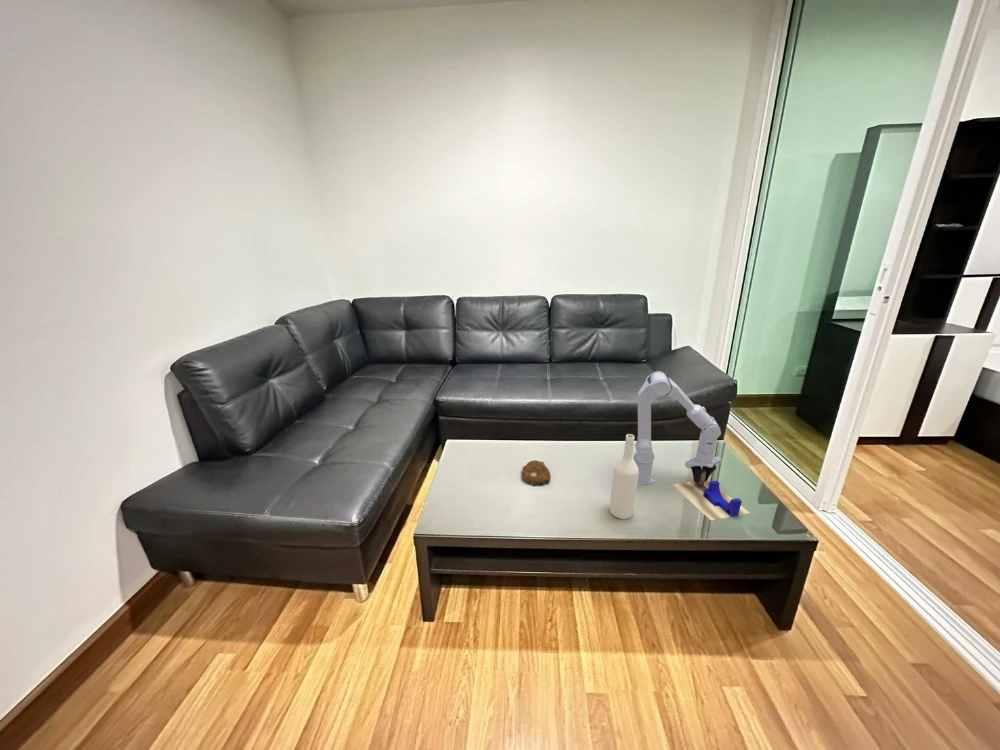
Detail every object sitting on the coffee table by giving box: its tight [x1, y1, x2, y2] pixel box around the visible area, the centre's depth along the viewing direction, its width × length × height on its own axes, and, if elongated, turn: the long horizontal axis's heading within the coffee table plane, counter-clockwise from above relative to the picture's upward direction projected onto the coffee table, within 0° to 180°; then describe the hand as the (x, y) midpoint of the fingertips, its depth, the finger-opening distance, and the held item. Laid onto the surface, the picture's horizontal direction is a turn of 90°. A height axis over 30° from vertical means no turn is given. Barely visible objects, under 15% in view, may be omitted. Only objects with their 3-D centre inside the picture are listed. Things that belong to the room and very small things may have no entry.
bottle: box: [609, 433, 639, 520], centre depth 133 cm, size 8×8×30 cm
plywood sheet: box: [671, 479, 751, 521], centre depth 144 cm, size 16×21×1 cm
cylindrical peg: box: [695, 469, 706, 486], centre depth 150 cm, size 3×3×6 cm
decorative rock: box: [522, 459, 551, 487], centre depth 159 cm, size 11×4×15 cm
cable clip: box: [703, 480, 743, 518], centre depth 139 cm, size 12×4×6 cm, turn 12°
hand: (699, 480), depth 151 cm, fingers closed on cylindrical peg, 3 cm apart
